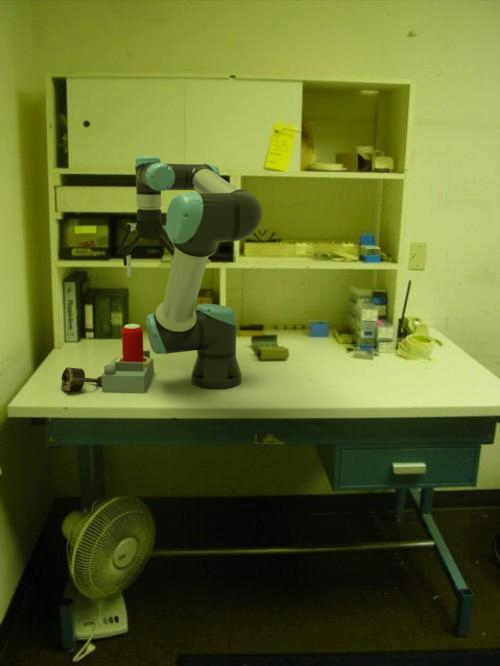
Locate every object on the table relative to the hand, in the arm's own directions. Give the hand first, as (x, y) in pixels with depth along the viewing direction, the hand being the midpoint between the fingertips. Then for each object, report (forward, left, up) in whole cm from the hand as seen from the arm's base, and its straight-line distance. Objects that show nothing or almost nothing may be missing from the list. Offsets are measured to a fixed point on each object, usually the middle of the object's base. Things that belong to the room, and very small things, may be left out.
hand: (150, 276), depth 195 cm
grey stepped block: (+4, +19, -29) cm, 35 cm away
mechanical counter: (+16, +25, -29) cm, 42 cm away
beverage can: (+3, +17, -24) cm, 29 cm away
